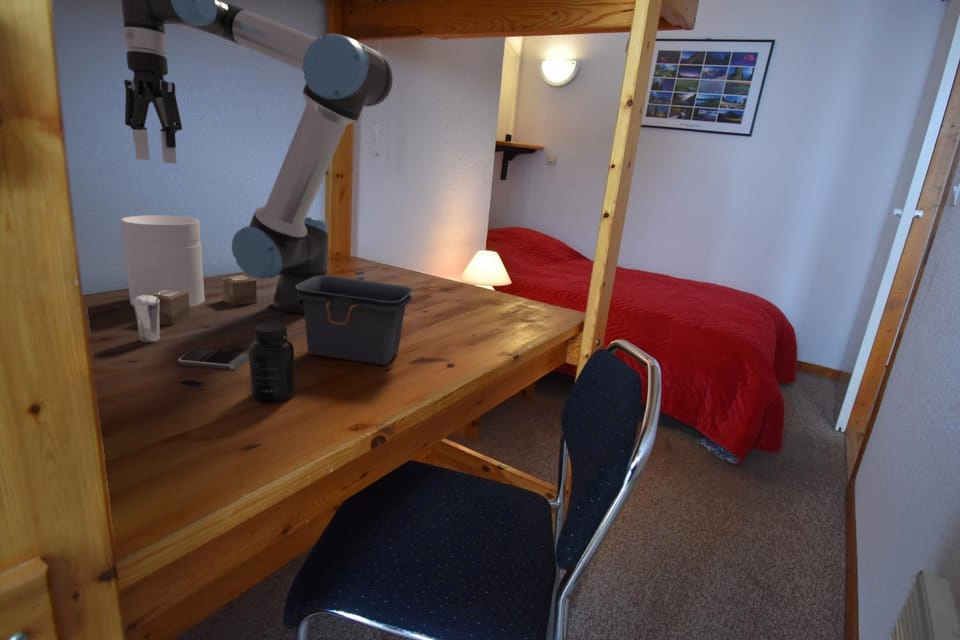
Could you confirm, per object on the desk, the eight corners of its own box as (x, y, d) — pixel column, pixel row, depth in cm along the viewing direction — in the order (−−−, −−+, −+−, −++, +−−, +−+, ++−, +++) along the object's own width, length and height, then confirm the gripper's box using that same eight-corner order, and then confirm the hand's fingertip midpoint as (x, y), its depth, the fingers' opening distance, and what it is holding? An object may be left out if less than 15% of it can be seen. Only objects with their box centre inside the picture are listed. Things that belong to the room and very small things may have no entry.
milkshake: (154, 345, 104) (149, 296, 101) (131, 341, 105) (125, 292, 102) (172, 338, 109) (167, 291, 106) (149, 334, 110) (144, 287, 107)
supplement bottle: (258, 385, 92) (255, 319, 88) (299, 387, 93) (298, 321, 89) (244, 403, 85) (241, 332, 82) (288, 405, 86) (287, 334, 82)
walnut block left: (190, 318, 122) (188, 291, 120) (173, 325, 116) (170, 297, 114) (165, 315, 122) (163, 288, 121) (147, 322, 117) (144, 294, 115)
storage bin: (414, 350, 115) (417, 285, 110) (392, 377, 100) (395, 304, 96) (319, 337, 117) (319, 273, 113) (285, 362, 102) (283, 290, 98)
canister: (116, 300, 130) (106, 217, 124) (181, 289, 143) (175, 214, 137) (153, 314, 122) (144, 226, 116) (218, 302, 135) (213, 222, 129)
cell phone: (194, 354, 103) (193, 348, 103) (251, 360, 103) (250, 353, 103) (175, 366, 97) (175, 359, 97) (236, 372, 97) (235, 365, 97)
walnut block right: (256, 302, 138) (256, 279, 136) (233, 306, 133) (232, 281, 131) (245, 297, 141) (244, 274, 139) (222, 300, 137) (221, 276, 135)
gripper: (98, 49, 117) (110, 156, 123) (162, 49, 108) (172, 164, 115) (132, 56, 123) (142, 157, 130) (196, 56, 115) (202, 165, 122)
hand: (156, 161), depth 122 cm, fingers open, 9 cm apart
